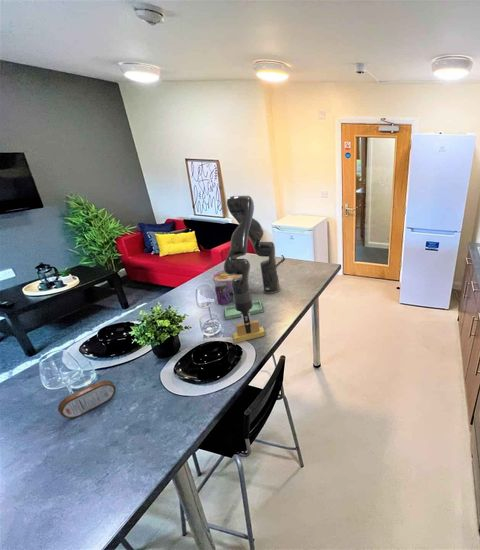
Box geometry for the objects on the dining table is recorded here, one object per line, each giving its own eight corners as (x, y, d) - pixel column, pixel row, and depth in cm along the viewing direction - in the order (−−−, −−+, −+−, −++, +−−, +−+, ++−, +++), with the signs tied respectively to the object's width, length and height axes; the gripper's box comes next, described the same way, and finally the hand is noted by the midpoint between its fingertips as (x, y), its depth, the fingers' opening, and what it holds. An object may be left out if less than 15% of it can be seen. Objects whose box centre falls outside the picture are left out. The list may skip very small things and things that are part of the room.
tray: (225, 310, 165) (224, 307, 164) (260, 303, 173) (260, 300, 172) (226, 319, 156) (225, 316, 156) (263, 311, 164) (262, 308, 163)
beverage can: (225, 305, 170) (222, 287, 165) (215, 304, 171) (211, 286, 166) (233, 299, 176) (229, 282, 171) (222, 298, 177) (219, 280, 172)
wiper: (233, 337, 142) (231, 323, 139) (263, 330, 148) (261, 317, 145) (234, 343, 138) (231, 329, 135) (264, 335, 144) (262, 322, 141)
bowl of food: (207, 293, 182) (204, 277, 177) (232, 281, 199) (229, 265, 194) (232, 300, 175) (228, 283, 171) (255, 286, 192) (252, 271, 187)
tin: (117, 391, 110) (109, 375, 107) (120, 395, 108) (112, 378, 105) (63, 419, 99) (52, 401, 95) (66, 424, 97) (55, 406, 94)
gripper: (253, 304, 130) (257, 334, 137) (249, 291, 142) (254, 319, 148) (235, 307, 127) (240, 338, 134) (233, 294, 139) (238, 322, 145)
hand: (247, 328), depth 141 cm, fingers open, 8 cm apart
